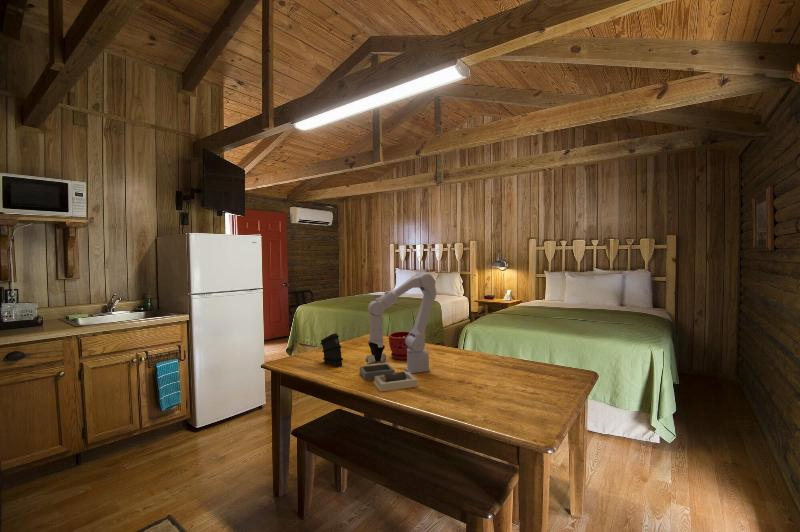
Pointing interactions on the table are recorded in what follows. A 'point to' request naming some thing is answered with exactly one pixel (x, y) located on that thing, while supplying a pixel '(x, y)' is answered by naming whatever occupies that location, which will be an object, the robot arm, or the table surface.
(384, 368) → the bin
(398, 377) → the cylinder
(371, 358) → the silver cell
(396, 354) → the plant pot
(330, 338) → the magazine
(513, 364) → the table surface
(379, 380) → the trough board
